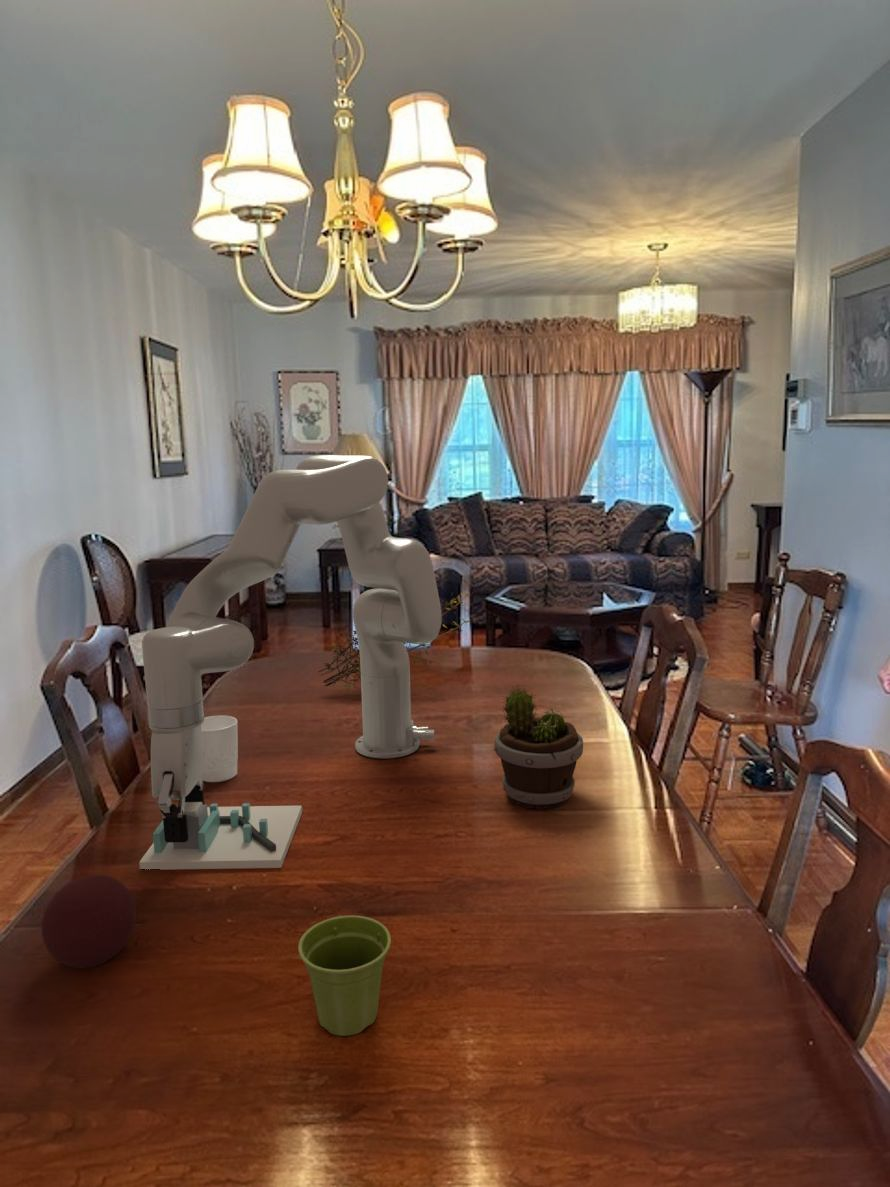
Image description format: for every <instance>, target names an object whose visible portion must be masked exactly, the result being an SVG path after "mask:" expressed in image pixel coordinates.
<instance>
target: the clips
mask: <svg viewBox="0 0 890 1187" xmlns="http://www.w3.org/2000/svg"><path fill="white" fill-rule="evenodd" d="M241 806H242V816H243V817H244V818H245V819H246V820H250V818H251V814H250V806H251V804H250V802H246V803H242V805H241ZM209 807H210V814H217V825H218V828H219V826H220V814H219V811H218V807H219V805H218V803H210V805H209ZM230 817H231V828H237V827H238V826H239V812H238V810H232V811H231V813H230ZM259 829H260V833H261V834H262V835H264V836H265V837H267V835H268V824H267V819H260V821H259ZM243 839H244V842H251V840H252V830H251V824H244V826H243Z"/></svg>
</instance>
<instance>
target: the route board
mask: <svg viewBox="0 0 890 1187" xmlns="http://www.w3.org/2000/svg"><path fill="white" fill-rule="evenodd" d="M207 810H208V816H209V815H210V806H207ZM232 810H238V812H239V816H241V817H243V816H242V805H241V806H218V811H219V814H220V816H230V813H231V811H232ZM250 814H251V818H250V820H247V821H248V822H249V823H250V824H251V825H252V826H253V827H254V828H255V829H256V830H257V831H258V832H260V829H259V821H260V819H267V824H268V835H267V837H266V838H268V839H269V840H270V841H272V842H273V843H275V844H276V851H273V852H270V851H269V850H268V849H266V848H265V847H264V846H263V845H261V844H260V843H259V842H257V841H256V840H255V839H253V838H252V840H251V842H244V839H243V827H242V826H241V825H240V824H239V826H238V827H237V828H231V824H220V826H219V828H218V833H217V835H216V836H215V838H214V840H213V842H212V843H211V845H210V847H209V849H208V850H207V852H199V849H174V845H173V842H171V843H168V844H167V846H166V847H165V848H164V850H163V851H162V853H154V842H153V843H152V844H151V845H150V847H149V848H148V850H147V851H146V852H145V854H143V856H142V858H141V859H140V861H139V862H138V864H139V870H140V869H145V870H144V871H148V869H149V871H151V870H150V869H160V870H161V871H162V870H164V871H165V870H172V871H173V870H220V869H221V870H225V869H226V870H228V869H230V870H232V869H236V870H237V869H279V868H280V869H282V866H283V864H284V862H285V858H286V855H287V854H288V851H289V848H290V845H291V843H292V841H293V838H294V835H295V833H296V830H297V827H298V825H299V821H300V819H301V817H302V814H303V805H258V806H257V805H254V806H253V805H250ZM146 869H147V870H146Z"/></svg>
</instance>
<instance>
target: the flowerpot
mask: <svg viewBox="0 0 890 1187" xmlns="http://www.w3.org/2000/svg"><path fill="white" fill-rule="evenodd" d="M515 682H516V684H517V685H516V686H513V685H511V688H512V689H509V691H508V694H509V695H505V696H504V695H503V696H502V697H504V698H502V700H503V705H502V707H501V709H502V713H503V715H504V716H503V719H505V720H504V722H505V723H506V724H505V725H504V726H503V727H502V728H501V729H500V732H498V733H497V734H496V736H495V739H494V746H493V750H494V752H495V754H496V755H497V757H498V758H500V761H501V766H502V770H503V773H504V775H503V777H502V786H503V787H502V789H503V790H504V792H505V793H506V795H507V796H508V797H509V799H510V801H511V802H513V803H514V804H517V805H518V806H520V807H522V808H525V809H529V808H530V810H532V809H537V810H544V809H546V808H550V809H554V808H558V807H560V806H562V805H565V803H567V801H568V799H569V798H570V797H571V796H572V794H573V791H574V787H575V783H576V781H575V780H576V779H575V778H574V774H575V771H576V770H575V769H576V765H577V761H578V760H579V759H580V758H581V757H582V756H583V753H584V752H583V751H584V739H583V737H582V736H581V735H580V733H578V731H577V729H576V728H575V726H574V725H573V724H572V723H570V722H568V721H565V719H566V717H565V716H563V714H562V713H559V711H558V710H557V711H556V710H554V708H551V707H550V709H549V710H547V712H546V713H545V714H544V715H542V716H541V717H537V715H538V714H537V713H536V711H537V710H538V708H537V707H539V706H540V704H538V705H537V701H536V702H535V700H534V699H535V697H534V696H536V694H533V693H532V692H530V694H528V692H529V690H527V685H526V686H525V685H524V686H522V687H520V685H519V683H518V682H517V681H515ZM534 710H536V711H534ZM550 711H551V712H550ZM558 713H559V714H558Z"/></svg>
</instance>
